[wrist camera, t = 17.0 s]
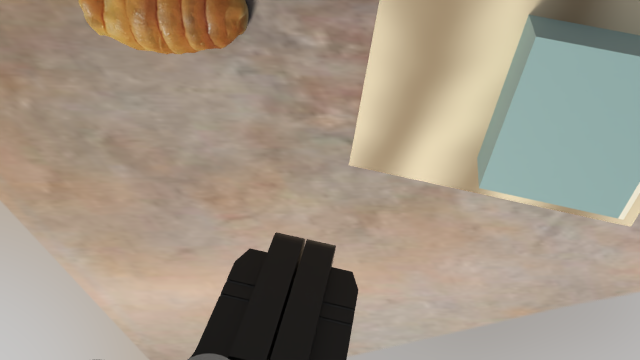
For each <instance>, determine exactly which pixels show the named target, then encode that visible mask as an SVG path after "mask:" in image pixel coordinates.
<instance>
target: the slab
mask: <svg viewBox="0 0 640 360" xmlns="http://www.w3.org/2000/svg"><path fill="white" fill-rule="evenodd" d="M477 163H478V181H479V188H481V189H486V190H490V191H495V192H499V193H504V194H508V195H513V196H517V197H522V198H527V199H531V200H536V201H540V202H545V203H549V204H554V205H559V206H563V207H568V208H572V209H577V210H581V211H586V212H590V213H595V214H600V215H604V216H609V217H613V218H618V219H622V220H624V218H625V216H626V215H627V213H628V212H629V210H630V208H631V207H632V205H633V203H634V202H635V200H636V198H637V197H638V195H639V193H640V35H635V34H629V33H624V32H619V31H614V30H608V29H603V28H598V27H592V26H587V25H582V24H576V23H571V22H566V21H560V20H555V19H550V18H545V17H539V16H534V15H528V18H527V21H526V24H525V26H524V29H523V32H522V35H521V38H520V40H519V43H518V46H517V49H516V51H515V54H514V57H513V60H512V63H511V65H510V68H509V71H508V74H507V76H506V79H505V82H504V85H503V88H502V90H501V93H500V96H499V99H498V101H497V104H496V107H495V110H494V113H493V115H492V118H491V121H490V124H489V127H488V129H487V132H486V135H485V138H484V140H483V143H482V146H481V149H480V152H479V154H478V157H477Z"/></svg>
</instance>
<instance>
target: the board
mask: <svg viewBox="0 0 640 360" xmlns="http://www.w3.org/2000/svg"><path fill="white" fill-rule="evenodd" d="M528 15H534V16H539V17H545V18H550V19H555V20H560V21H566V22H571V23H576V24H582V25H587V26H592V27H598V28H603V29H608V30H614V31H619V32H624V33H629V34H635V35H640V0H380V1H379V7H378V12H377V17H376V23H375V28H374V33H373V39H372V44H371V49H370V55H369V60H368V65H367V71H366V76H365V82H364V87H363V92H362V98H361V103H360V108H359V114H358V119H357V124H356V130H355V135H354V140H353V146H352V151H351V156H350V162H349V165H350V166H355V167H360V168H364V169H369V170H373V171H378V172H383V173H387V174H392V175H396V176H401V177H405V178H410V179H415V180H419V181H424V182H428V183H433V184H438V185H442V186H447V187H451V188H456V189H460V190H465V191H470V192H474V193H479V194H483V195H488V196H493V197H497V198H502V199H506V200H511V201H516V202H520V203H525V204H529V205H534V206H538V207H543V208H548V209H552V210H557V211H561V212H566V213H571V214H575V215H580V216H584V217H589V218H593V219H598V220H603V221H607V222H612V223H616V224H621V225H626V226H630V227H631V226H632V224H633V223H634V221H635V219H636V218H637V216H638V214H639V213H640V193H639V195H638V197H637V198H636V200H635V202H634V203H633V205H632V207H631V208H630V210H629V212H628V213H627V215H626V216H625V218H624V220H622V219H618V218H613V217H609V216H604V215H600V214H595V213H590V212H586V211H581V210H577V209H572V208H568V207H563V206H559V205H554V204H549V203H545V202H540V201H536V200H531V199H527V198H522V197H517V196H513V195H508V194H504V193H499V192H495V191H490V190H486V189H481V188H479V181H478V163H477V157H478V154H479V152H480V149H481V146H482V143H483V140H484V138H485V135H486V132H487V129H488V127H489V124H490V121H491V118H492V115H493V113H494V110H495V107H496V104H497V101H498V99H499V96H500V93H501V90H502V88H503V85H504V82H505V79H506V76H507V74H508V71H509V68H510V65H511V63H512V60H513V57H514V54H515V51H516V49H517V46H518V43H519V40H520V38H521V35H522V32H523V29H524V26H525V24H526V21H527V18H528Z"/></svg>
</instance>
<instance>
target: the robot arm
mask: <svg viewBox="0 0 640 360" xmlns="http://www.w3.org/2000/svg"><path fill="white" fill-rule="evenodd" d="M304 245H305V247H304ZM335 248H336V246H335V245H330V244H326V243H321V242H317V241H313V240H308V239H307V241H306V244H305V239H303V238H299V237H294V236H290V235H285V234H281V233H277V232H276V233H275V235H274V237H273V240H272V242H271V245H270V248H269V250H268V253H267V252H263V251H258V250H254V249H249V250H248V251H246V252H245V253H244V254H243V255H242V256H241V257H240V258H239V259H237V260H236V261H235V263H234V265H233V267H232V269H231V272H230V274H229V276H228V278H227V282H226V283H225V285H224V287H223V290H222V292H221V296H219V299H218V301H217V303H216V306H215V308H214V310H213V312H212V315H211V317H210V319H209V321H208V324H207V326H206V328H205V330H204V333H203V335H202V337H201V339H200V342H199V344H198V346H197V348H196V350H195V352H194V353H193V355H192V356H191V357H190V358H189V359H188V360H346V358H347V353H348V347H349V341H350V335H351V329H352V324H353V318H354V311H355V306H356V300H357V295H358V288H357V285H356V282H355V278H354V275H353V272H350V271H346V270H342V269H337V268H333V267H332V263H333V258H334V253H335Z"/></svg>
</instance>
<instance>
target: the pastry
mask: <svg viewBox="0 0 640 360" xmlns="http://www.w3.org/2000/svg"><path fill="white" fill-rule="evenodd" d="M79 4H80V6H81V8H82V10H83V11H84V17H85V19H86V21H87V23H88V24H89V25H90V26H91V27H92V28H93V29H94V30H95V31H96V32H97V33H98V34H99V35H106V36H109V37H112V38H114V39H116V40H118V41H119V42H121V43H124V44H126V45H128V46H130V47H132V48H135V49H137V50H147V51H155V52H158V53H165V54H169V53H174V54H183V53H195V52H198V51H200V50H205V49H213V48H220V49H221V48H224V47H226V46H227V45H228V44H230V43H231V42H232V41H233V40H234V39H235V38H236V37H237V36H238V35H241V34H243V33H244V31H245V30H246V28H247V23H248V17H249V13H248V7H247V4H246V1H245V0H79Z"/></svg>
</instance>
